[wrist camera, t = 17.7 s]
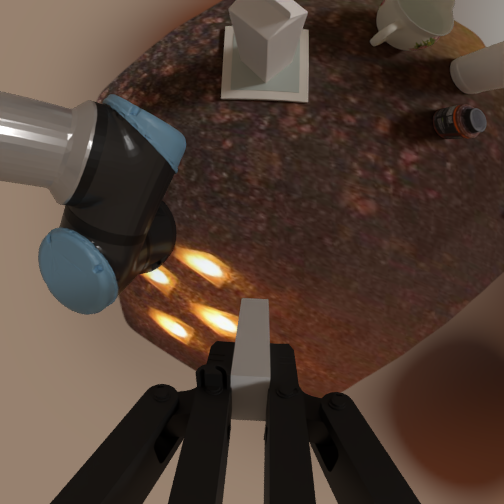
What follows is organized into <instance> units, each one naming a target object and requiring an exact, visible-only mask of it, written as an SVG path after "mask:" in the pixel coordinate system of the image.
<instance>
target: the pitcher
mask: <svg viewBox="0 0 504 504" xmlns="http://www.w3.org/2000/svg"><path fill="white" fill-rule="evenodd" d="M454 4H455V0H384V1H383V2H382V3H381V5H380V7H379V9H378V12H377V18H376V23H377V28H378V31H379V32H378V33H377V34H376V35H375V36H374V37H373V38H372V39H371V40H370V44H371V45H372V46H377V45H379V44H381V43H383V42H385V41H386V42H387V43H388V44H390V45H391V46H393V47H395V48H397V49H400V50H405V51H416V50H421V49H425V48H427V47H429V46H431V45H432V44H434V43H435V42H436V41H437V40H438V39H439V37H440V36H443V35H446V34H448V33H449V32H450V31H451V30H452V28H453V25H454V18H453V11H452V10H453V7H454Z"/></svg>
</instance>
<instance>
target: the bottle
mask: <svg viewBox="0 0 504 504" xmlns="http://www.w3.org/2000/svg"><path fill="white" fill-rule="evenodd" d="M450 74H451V77H452V80H453V82H454V83H455V85H456V86H457V87H458V88H459V90H461V91H462V92H464V93H466V94H475V93H479V92H483V91H488V90H493V89H499V88H504V41H503V42H500V43H498V44H494V45H492V46H489V47H486V48H483V49H481V50H478V51H475V52H473V53H470V54H468V55H465V56H461V57H459V58H457V59H455V60H453V61H452V62H451V65H450Z"/></svg>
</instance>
